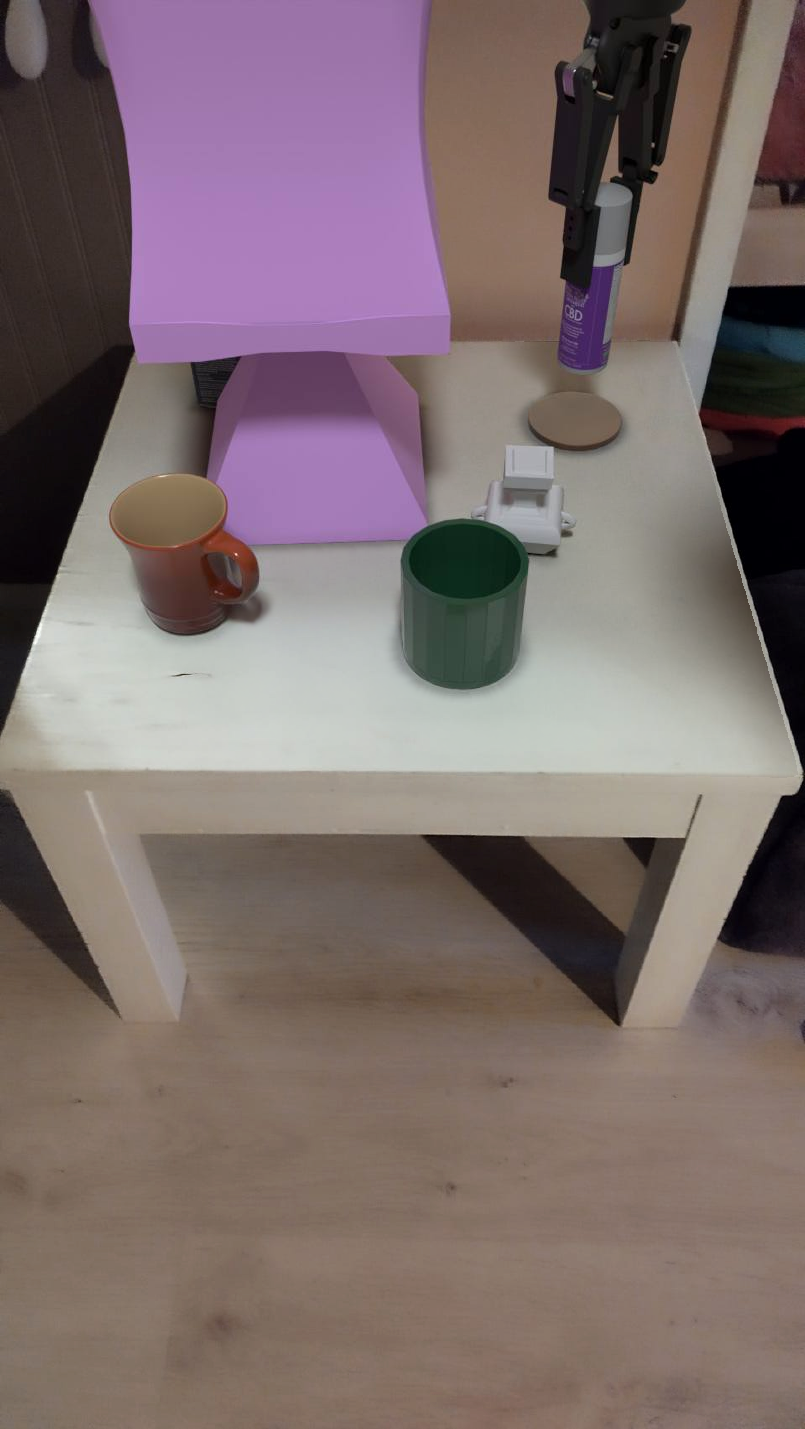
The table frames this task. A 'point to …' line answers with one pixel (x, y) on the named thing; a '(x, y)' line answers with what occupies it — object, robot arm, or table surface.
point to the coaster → (574, 421)
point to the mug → (183, 550)
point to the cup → (462, 602)
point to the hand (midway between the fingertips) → (595, 270)
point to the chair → (288, 245)
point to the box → (212, 379)
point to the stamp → (528, 499)
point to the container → (596, 289)
